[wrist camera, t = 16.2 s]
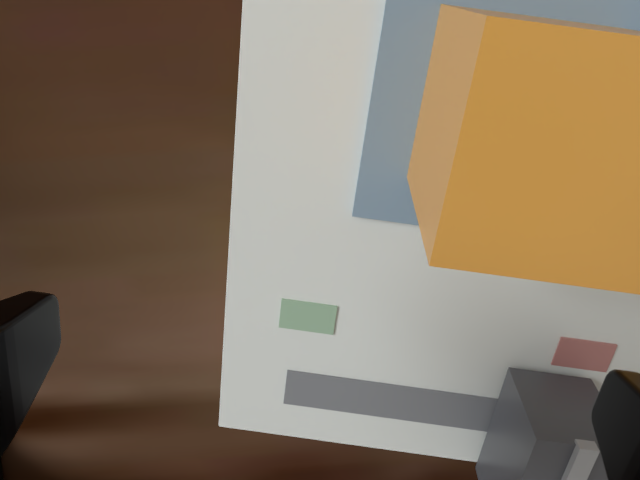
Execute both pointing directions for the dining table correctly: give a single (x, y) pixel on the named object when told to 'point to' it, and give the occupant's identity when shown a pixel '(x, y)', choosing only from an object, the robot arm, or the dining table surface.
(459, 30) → the cap
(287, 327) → the breaker panel
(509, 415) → the block
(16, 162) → the dining table surface
